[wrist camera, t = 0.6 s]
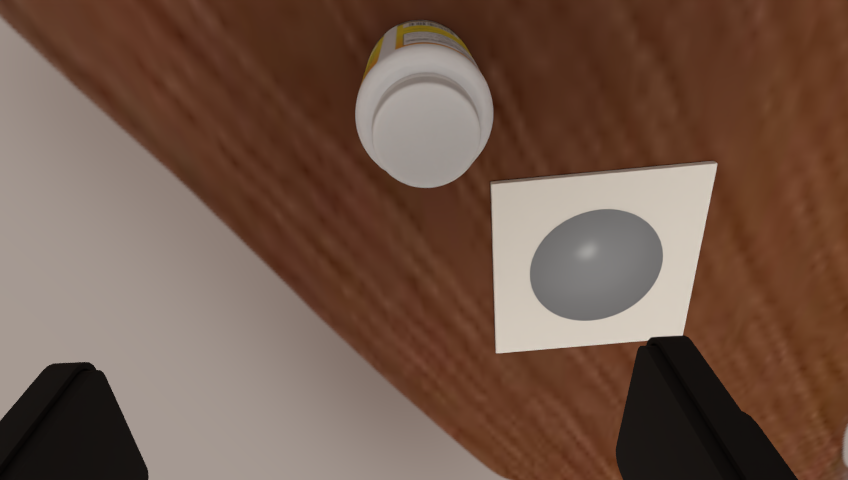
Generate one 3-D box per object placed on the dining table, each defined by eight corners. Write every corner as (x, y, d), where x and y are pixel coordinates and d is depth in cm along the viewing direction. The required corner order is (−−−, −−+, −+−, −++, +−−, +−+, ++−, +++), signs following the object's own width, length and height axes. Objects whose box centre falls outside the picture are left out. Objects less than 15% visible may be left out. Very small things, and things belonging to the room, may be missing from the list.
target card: (713, 160, 30) (718, 163, 30) (679, 333, 37) (683, 338, 36) (490, 181, 31) (491, 185, 30) (495, 349, 37) (496, 354, 37)
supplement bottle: (398, 142, 29) (392, 230, 21) (347, 49, 27) (317, 104, 18) (489, 98, 28) (526, 171, 19) (446, -4, 26) (465, 27, 17)
